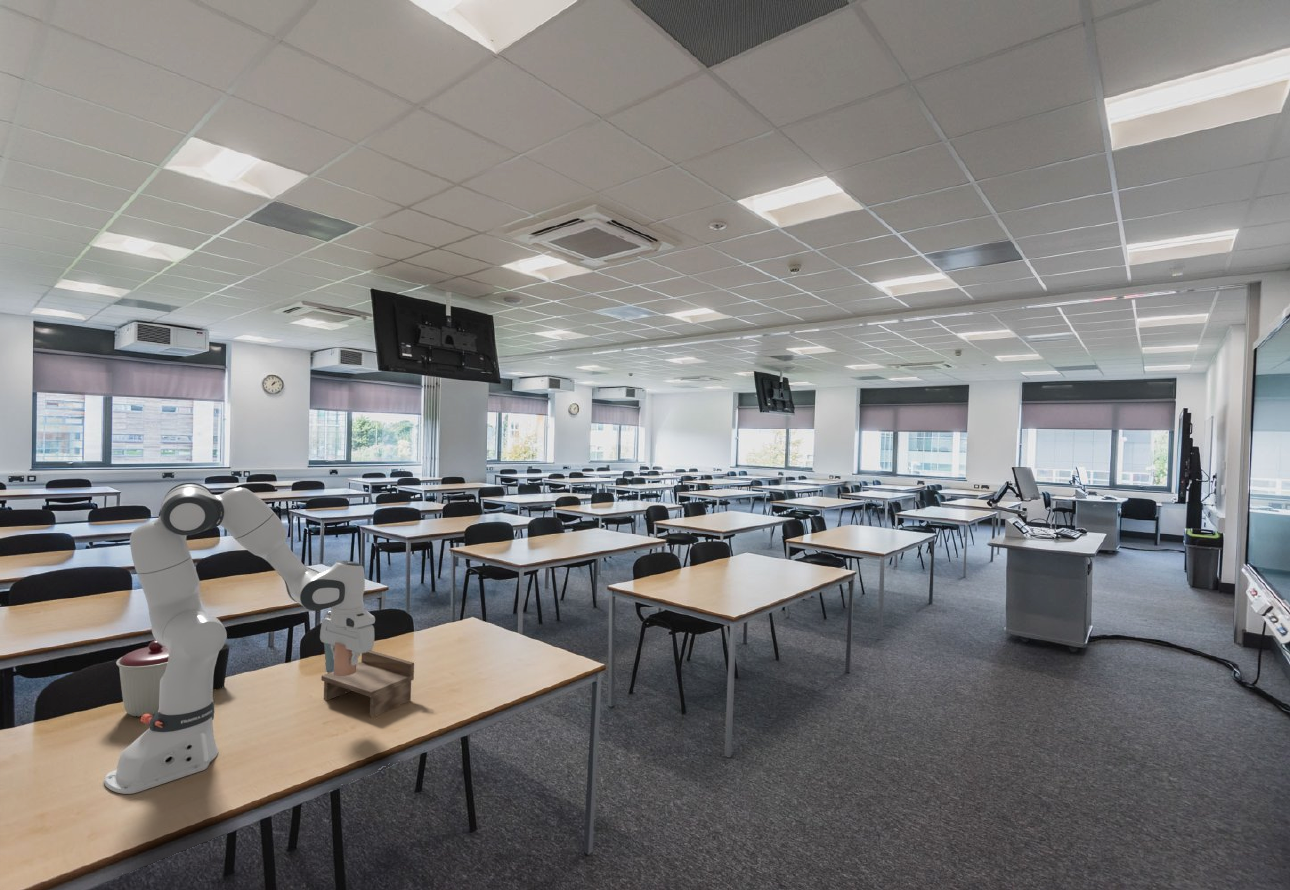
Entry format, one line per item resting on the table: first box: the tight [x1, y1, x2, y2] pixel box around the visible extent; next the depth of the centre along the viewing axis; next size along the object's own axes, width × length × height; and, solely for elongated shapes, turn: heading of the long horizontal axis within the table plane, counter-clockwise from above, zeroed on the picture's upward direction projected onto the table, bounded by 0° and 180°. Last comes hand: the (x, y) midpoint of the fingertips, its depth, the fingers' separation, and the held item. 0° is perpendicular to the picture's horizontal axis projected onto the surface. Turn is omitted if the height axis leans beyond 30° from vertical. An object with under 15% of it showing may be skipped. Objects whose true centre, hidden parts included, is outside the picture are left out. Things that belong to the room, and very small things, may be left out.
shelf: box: [320, 650, 415, 718], centre depth 193 cm, size 16×24×12 cm, turn 62°
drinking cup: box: [213, 642, 231, 691], centre depth 198 cm, size 8×8×20 cm
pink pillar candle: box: [334, 642, 356, 676], centre depth 177 cm, size 6×6×9 cm
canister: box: [115, 640, 169, 718], centre depth 181 cm, size 18×18×21 cm
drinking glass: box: [323, 642, 334, 673], centre depth 218 cm, size 10×10×12 cm
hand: (345, 661), depth 176 cm, fingers closed on pink pillar candle, 6 cm apart
